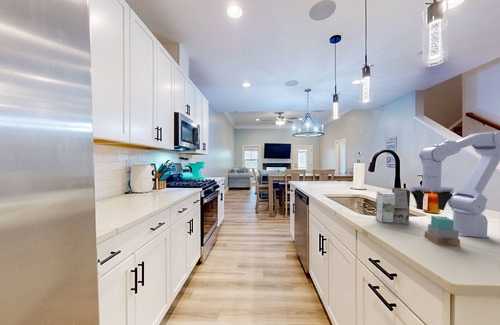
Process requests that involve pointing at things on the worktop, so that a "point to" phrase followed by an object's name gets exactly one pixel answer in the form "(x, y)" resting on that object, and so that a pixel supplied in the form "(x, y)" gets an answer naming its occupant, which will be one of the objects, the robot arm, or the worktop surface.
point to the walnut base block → (442, 240)
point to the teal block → (442, 222)
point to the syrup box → (385, 207)
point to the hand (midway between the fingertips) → (430, 209)
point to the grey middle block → (443, 232)
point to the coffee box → (401, 205)
